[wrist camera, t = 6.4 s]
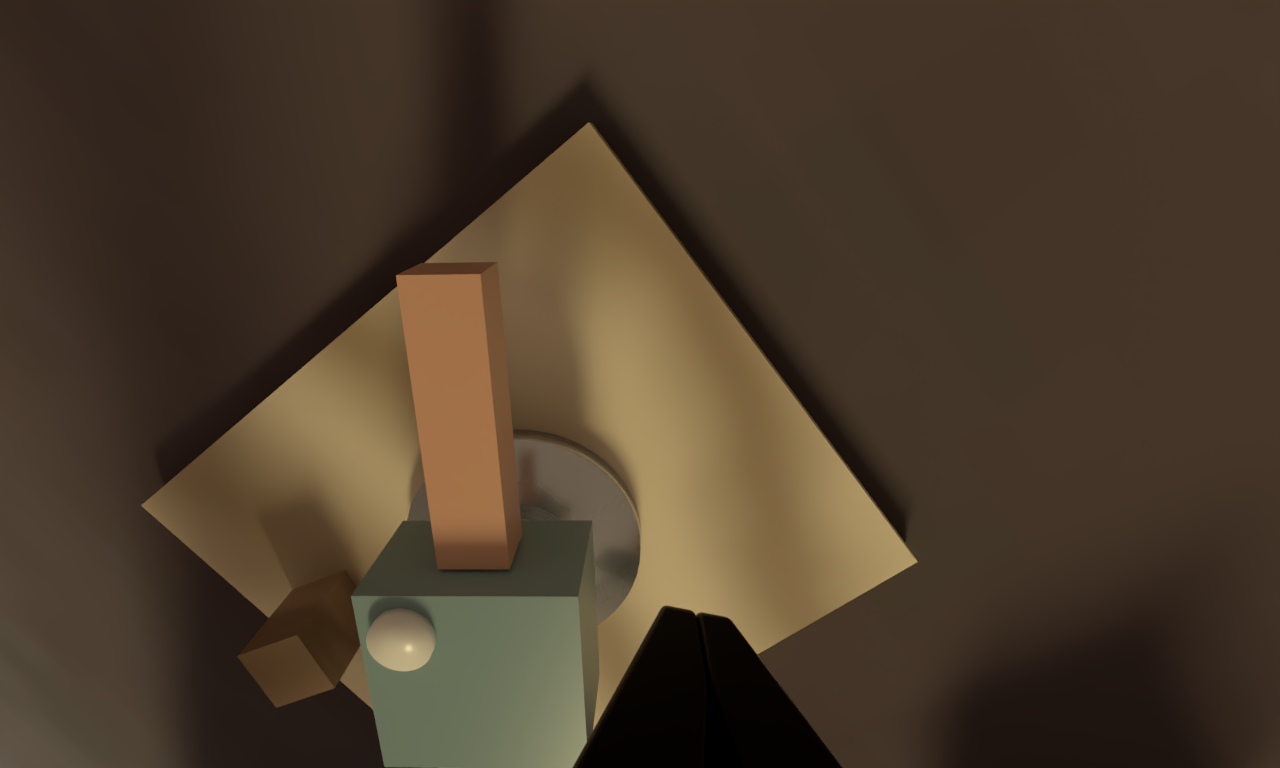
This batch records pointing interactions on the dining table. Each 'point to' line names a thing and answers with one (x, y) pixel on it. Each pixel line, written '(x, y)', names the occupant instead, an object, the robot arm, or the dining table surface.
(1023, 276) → the dining table surface
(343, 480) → the board
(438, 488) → the cap
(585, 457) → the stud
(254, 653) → the block
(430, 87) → the dining table surface
